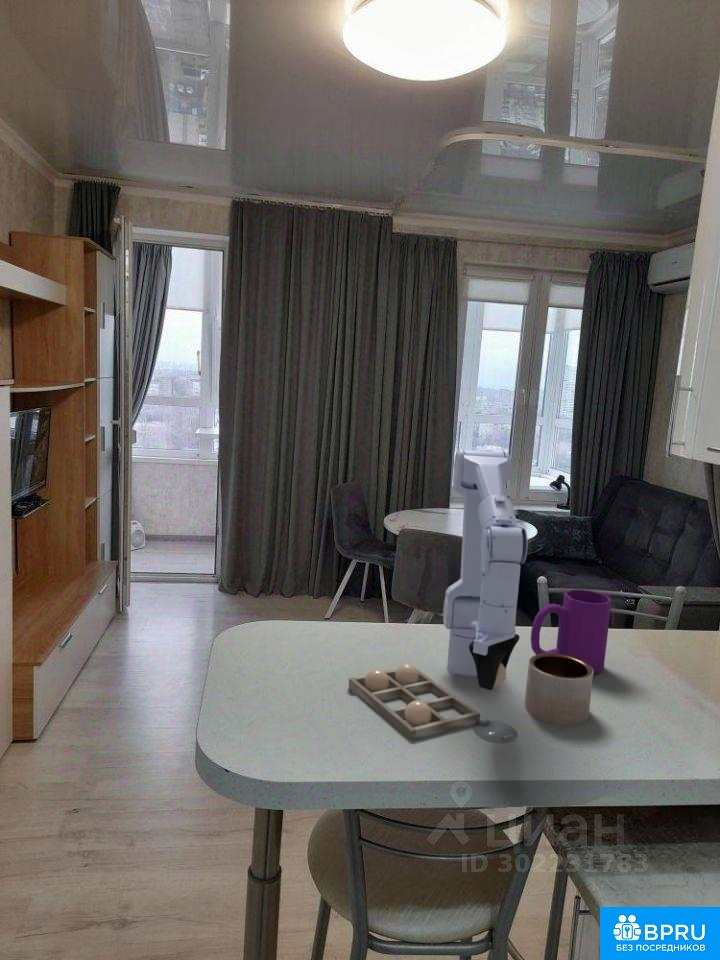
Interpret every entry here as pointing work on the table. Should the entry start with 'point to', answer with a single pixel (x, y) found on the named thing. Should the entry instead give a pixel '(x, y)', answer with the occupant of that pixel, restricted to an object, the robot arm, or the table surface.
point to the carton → (408, 695)
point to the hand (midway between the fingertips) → (491, 682)
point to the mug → (578, 627)
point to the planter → (558, 689)
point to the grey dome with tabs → (495, 731)
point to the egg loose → (500, 675)
